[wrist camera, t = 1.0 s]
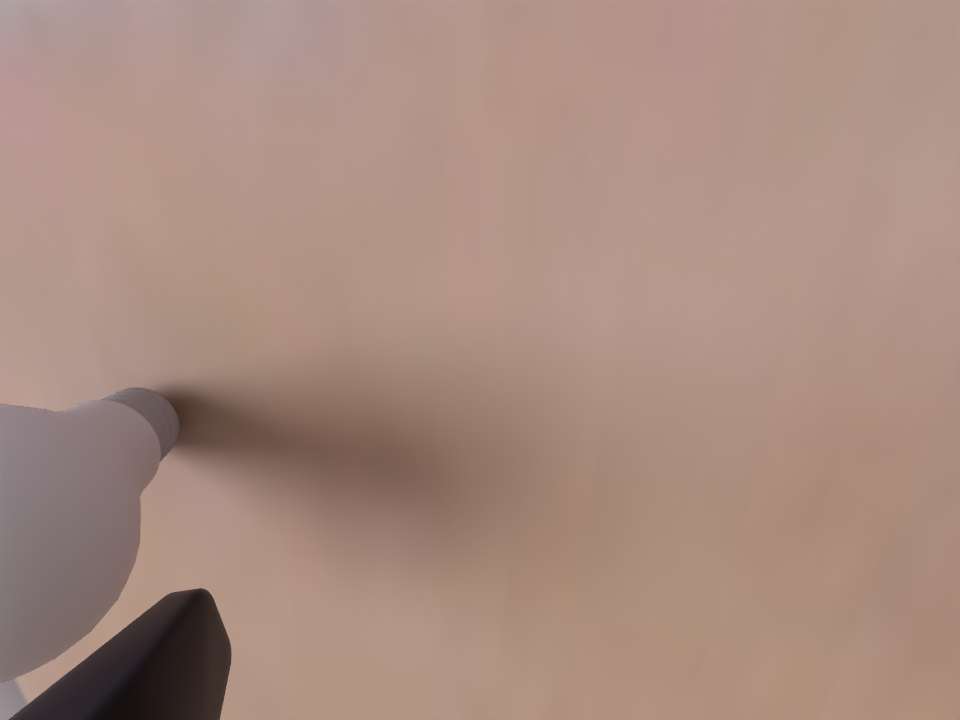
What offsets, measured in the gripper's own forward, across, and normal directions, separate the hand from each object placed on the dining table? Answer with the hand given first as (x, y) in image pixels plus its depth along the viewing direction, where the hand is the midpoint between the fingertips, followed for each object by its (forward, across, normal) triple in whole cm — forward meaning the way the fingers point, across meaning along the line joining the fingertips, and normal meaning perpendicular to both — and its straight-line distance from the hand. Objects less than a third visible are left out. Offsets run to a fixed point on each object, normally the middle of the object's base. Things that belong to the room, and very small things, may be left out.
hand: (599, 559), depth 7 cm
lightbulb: (+14, +13, +3) cm, 20 cm away
